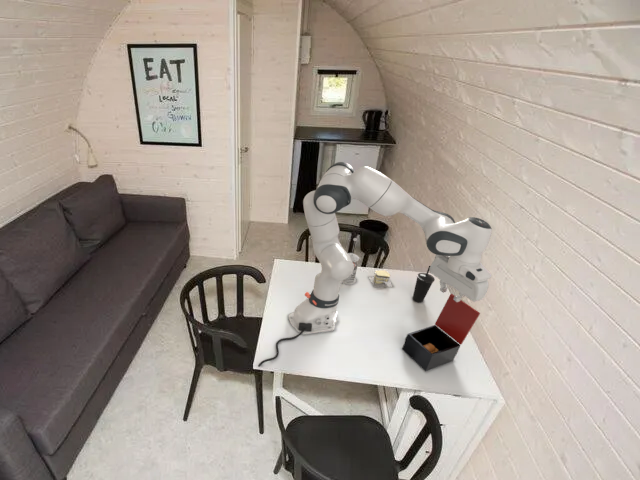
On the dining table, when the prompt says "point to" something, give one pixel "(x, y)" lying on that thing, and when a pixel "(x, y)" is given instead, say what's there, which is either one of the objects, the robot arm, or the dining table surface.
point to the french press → (355, 258)
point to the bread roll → (431, 348)
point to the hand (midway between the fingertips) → (449, 295)
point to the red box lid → (457, 319)
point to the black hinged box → (436, 338)
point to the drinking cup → (422, 286)
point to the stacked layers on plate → (381, 279)
